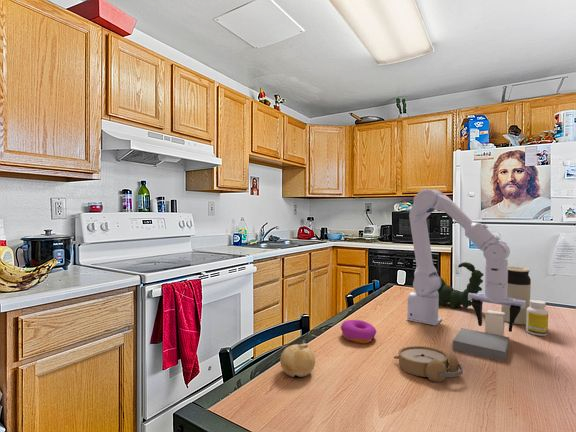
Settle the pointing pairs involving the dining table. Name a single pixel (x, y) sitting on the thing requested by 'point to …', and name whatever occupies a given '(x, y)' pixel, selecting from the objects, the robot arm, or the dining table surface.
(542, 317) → the supplement bottle
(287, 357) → the onion
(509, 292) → the travel mug
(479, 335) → the base block
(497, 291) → the robot arm
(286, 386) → the dining table surface
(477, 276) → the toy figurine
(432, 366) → the alarm clock
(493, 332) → the ivory block
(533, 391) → the dining table surface
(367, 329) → the donut
